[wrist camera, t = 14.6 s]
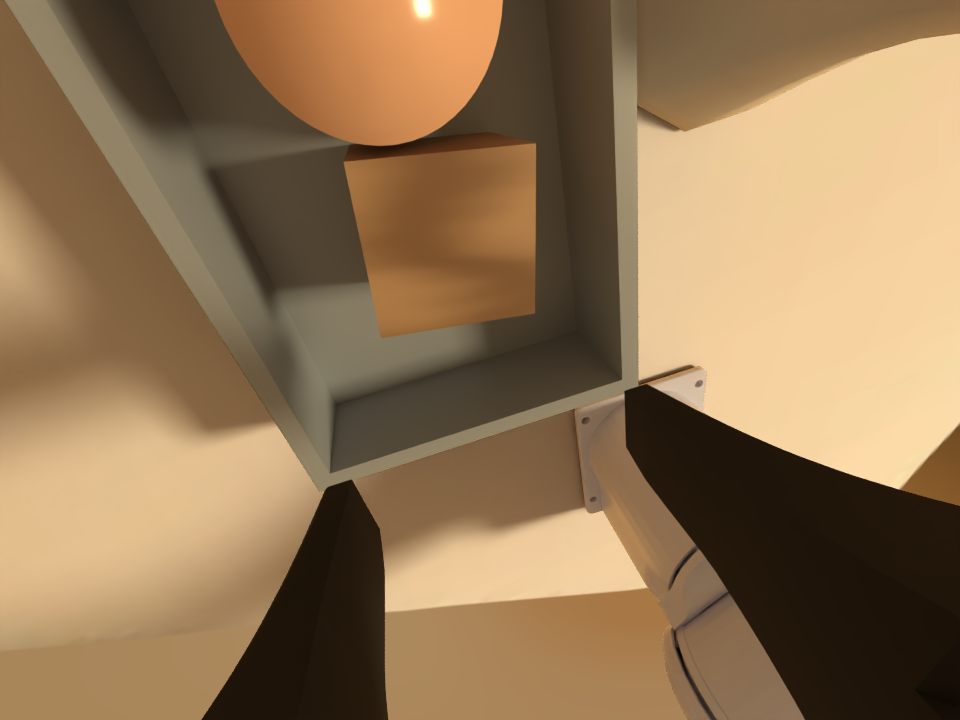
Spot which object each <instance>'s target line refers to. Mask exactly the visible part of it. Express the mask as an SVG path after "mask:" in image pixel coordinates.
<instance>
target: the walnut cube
mask: <svg viewBox="0 0 960 720" xmlns="http://www.w3.org/2000/svg"><path fill="white" fill-rule="evenodd" d="M344 166H345V171H346V176H347V180H348V185H349V190H350V195H351V199H352V204H353V209H354V213H355V218H356V223H357V227H358V232H359V237H360V241H361V246H362V251H363V256H364V260H365V265H366V270H367V274H368V279H369V284H370V288H371V293H372V298H373V302H374V307H375V312H376V317H377V321H378V326H379V331H380V335H381V338H386V337H392V336H399V335H405V334H411V333H417V332H423V331H429V330H436V329H442V328H448V327H454V326H460V325H466V324H473V323H479V322H485V321H491V320H497V319H503V318H510V317H516V316H522V315H528V314H534V313H535V244H536V143H533V142H529V141H525V140H521V139H517V138H513V137H509V136H505V135H501V134H497V133H493V132H483V133H472V134H461V135H450V136H439V137H428V138H419V139H416V140H414V141H410V142H406V143H401V144H397V145H385V146H375V145H362V144H351V145H349V148H348V151H347V154H346V156H345V159H344Z"/></svg>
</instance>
